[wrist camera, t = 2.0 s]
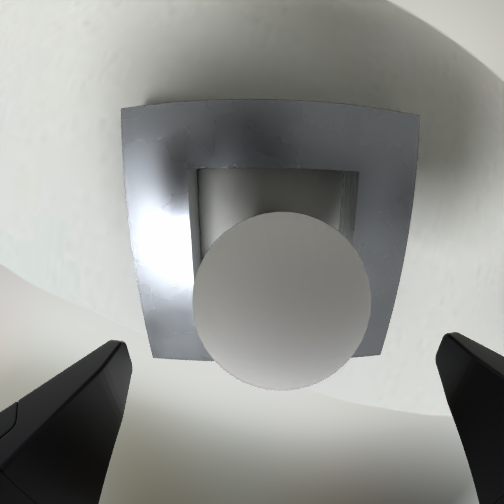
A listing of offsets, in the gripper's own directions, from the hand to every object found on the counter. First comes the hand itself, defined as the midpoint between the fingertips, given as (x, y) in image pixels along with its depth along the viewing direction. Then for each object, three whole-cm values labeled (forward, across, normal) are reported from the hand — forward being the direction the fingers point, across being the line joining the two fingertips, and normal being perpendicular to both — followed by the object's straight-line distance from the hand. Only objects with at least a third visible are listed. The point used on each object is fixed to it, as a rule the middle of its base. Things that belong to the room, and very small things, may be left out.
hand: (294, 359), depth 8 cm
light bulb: (+10, 0, 0) cm, 10 cm away
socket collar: (+10, 0, 0) cm, 10 cm away
